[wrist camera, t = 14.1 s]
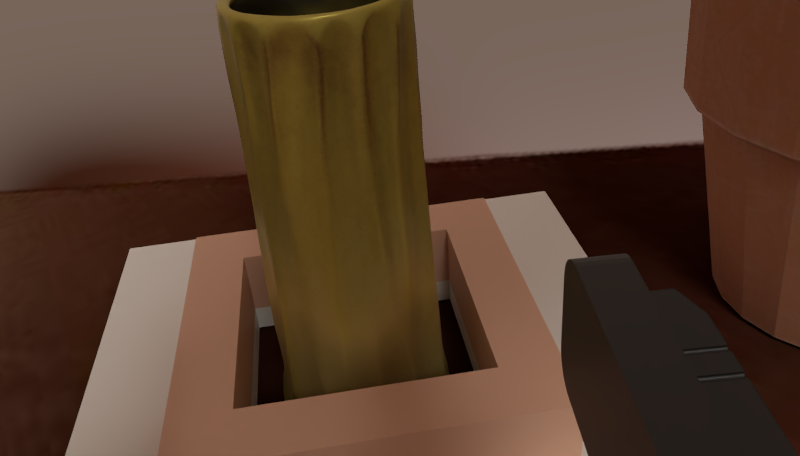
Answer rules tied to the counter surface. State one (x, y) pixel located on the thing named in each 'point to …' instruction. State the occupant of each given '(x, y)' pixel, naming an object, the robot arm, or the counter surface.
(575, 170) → the counter surface
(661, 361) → the robot arm
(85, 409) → the socket stand
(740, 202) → the potted plant
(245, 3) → the vase
